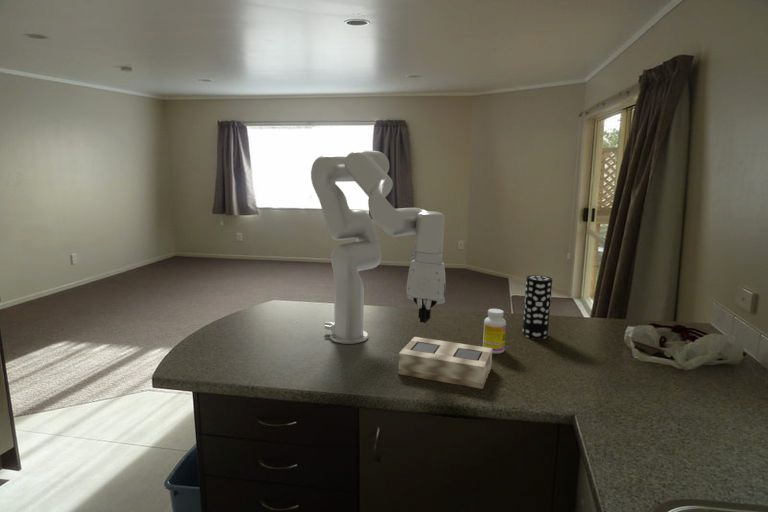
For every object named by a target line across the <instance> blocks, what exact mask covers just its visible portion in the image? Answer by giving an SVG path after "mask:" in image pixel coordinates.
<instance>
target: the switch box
mask: <svg viewBox="0 0 768 512" xmlns="http://www.w3.org/2000/svg"><path fill="white" fill-rule="evenodd" d="M418 343H424V344H431V345H437V346H439V348H438V350H437V351H436V352H435V354H433V353H427V352H420V351H414V350H412V349H413V348H414V347H415V346H416V345H417V344H418ZM459 349H464V350H470V351H477V352H481V357H480V359H479V361H477V360H471V359H464V358H458V357H455V355H456V354H457V352H458V350H459ZM492 359H493V353H492V348H487V347H483V346H481V345H472V344H466V343H459V342H453V341H446V340H441V339H440V340H439V339H432V338H428V337H427V338H425V337H418V336H414V337H412V339H411V340H410V341H409V342H408V343H407V344H406V345H405V346H404V347H403V348H402V349H401V350H400V351H399V353H398V370H397V371H398V375H403V376H407V377H408V376H409V377H415V378H419V379H420V378H421V379H425V380H430V381H437V382H442V383H449V384H453V385H459V386H463V387H464V386H465V387H470V388H476V389H481V390H483V389H484V386H485V384H486V381H487V380H488V377H489V375H488V374H490V372H491V370H492V361H493V360H492ZM486 379H487V380H486Z"/></svg>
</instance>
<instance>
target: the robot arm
mask: <svg viewBox="0 0 768 512" xmlns="http://www.w3.org/2000/svg"><path fill="white" fill-rule="evenodd" d="M310 169H311V170H310V181H311V184H312V187H313V190H314V192H315V194H316V196H317V198H318V200H319V203H320V207H321V210H322V215H323V218H324V221H325V222H324V223H325V225H326V229H327V231H328V235H329V236H330V237H331V239H333V240H334V241H346V240H353V239H354V240H355V241H353V242H352V241H351V242H346V243H341V244H338V245H337V246H335V247H334V248H333V250H332V252H331V254H330V260H331V261H330V263H331V267H332V272H333V273H332V274H333V281H334V282H333V283H334V284H333V286H334V287H333V288H334V291H333V292H334V295H333V296H334V298H333V299H334V304H333V305H334V307H333V308H334V318H333V319H334V320H333V322H331V321H325V322H324V330H330V331H331V332H330V333H329V339H330V340H331V341H332V342H335V343H337V344H342V345H348V344H349V345H351V344H352V345H355V344H359V343H363V342H366V341H367V340H368V337H369V334H368V332H367V331H366V330H365V329H364V313H365V311H364V303H365V302H364V301H365V300H364V299H365V297H364V295H365V294H364V293H365V291H364V289H365V288H364V282H363V279H362V277H361V276H360V274H359V272H361V271H365V270H371V269H375V268H376V267H378V266H379V265H380V263H381V262H382V249H381V245H380V242H379V238H378V235H377V231H376V227H375V224H374V222H375V223H376V225H377V226H378V227H379V228H380V230H381V231H382V232H384V233H385V234H386V235H388V236H390V237H395V238H396V237H404V236H412V235H415V242H414V250H410V251H409V256H411V257H413V260H411V261H410V264H409V269H408V274H407V282H406V292H405V293H406V299H408V300H411V301H413V302H414V303H415V304H416V305H417V307H418V319H419V322H420V323H424V324H426V323H427V322H428V321H430V320H431V313H432V308H433V307H434V306H435V305H444V304H445V303H446V300H445V295H446V269H445V268H446V267H445V263H444V262H443V251H444V250H443V249H444V239H445V224H446V223H445V221H446V218H445V215H444V214H443V213H442V212H439V211H430V210H429V211H428V210H426V209H423V208H420V207H403V208H402V207H401V208H395V207H394V206H393V205H392V204H391V203H390V202H389V201H388V200H387V198H386V197H387V196H388V195H389V194H390V192H391V190H392V188H393V186H394V183H393V179H392V178H391V177H390V175H388V172H389V170H390V161H389V159H388V157H387V156H386V155H385V154H384V153H383V152H381V151H379V150H367V149H365V150H364V149H359V150H358V149H357V150H354V151H351V152H350V153H348V154H347V155H346V154H325V155H321V156H319V157H317V158H316V159H315V160H314V162H313V163H312V165H311V168H310ZM336 182H337V183H338V182H343V183H344V182H345V183H346V182H355V183H356V184H357V185H358V186H359V187H360V189H362V191H363V192H364V194H365V195H366V196H367V197H368V201H367V205H368V210H369V213H368V212H366V211H365V210H363V209H350V207H349V204H348V202H347V201H348V200H347V197H346V195H345V193H344V191H343V190H342V189H341V188H340V186H338V185H337V184H336ZM425 300H427V301H426V304H425Z"/></svg>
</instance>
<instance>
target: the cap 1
mask: <svg viewBox="0 0 768 512" xmlns="http://www.w3.org/2000/svg"><path fill="white" fill-rule="evenodd" d="M438 348H439V346H437V345H431V344H424V343H418V344H417V345H416V346H415V347H414V348H413V349H412V350H414V351H420V352H427V353H433V354H435V352H436V351H437V350H438Z"/></svg>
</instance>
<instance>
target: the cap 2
mask: <svg viewBox="0 0 768 512" xmlns="http://www.w3.org/2000/svg"><path fill="white" fill-rule="evenodd" d="M455 357H458V358H464V359H471V360H477V361H479V359H480V357H481V352H477V351H470V350H464V349H459V350H458V352H457V354H456V355H455Z"/></svg>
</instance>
